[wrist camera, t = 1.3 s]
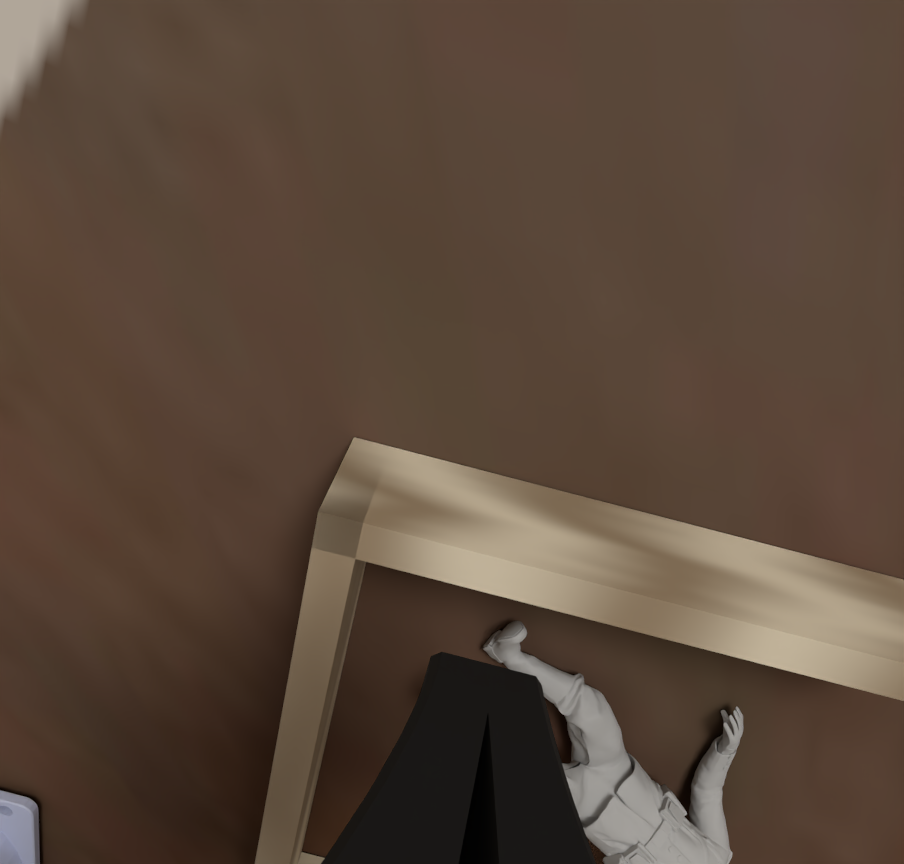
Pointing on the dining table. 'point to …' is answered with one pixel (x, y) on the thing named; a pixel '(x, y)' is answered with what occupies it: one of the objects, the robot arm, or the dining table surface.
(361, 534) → the beech frame
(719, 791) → the soldier figure
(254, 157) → the dining table surface
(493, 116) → the dining table surface
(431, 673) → the robot arm
